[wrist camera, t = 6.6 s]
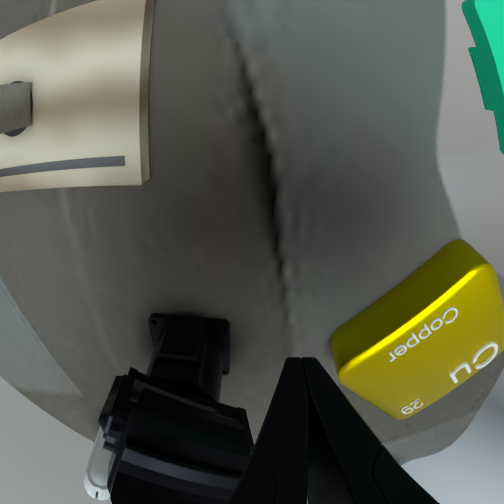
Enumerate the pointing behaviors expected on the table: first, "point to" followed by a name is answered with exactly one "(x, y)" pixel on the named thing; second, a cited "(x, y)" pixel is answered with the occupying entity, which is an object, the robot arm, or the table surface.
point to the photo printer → (98, 470)
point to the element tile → (423, 333)
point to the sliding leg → (14, 106)
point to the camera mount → (488, 54)
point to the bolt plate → (80, 98)
